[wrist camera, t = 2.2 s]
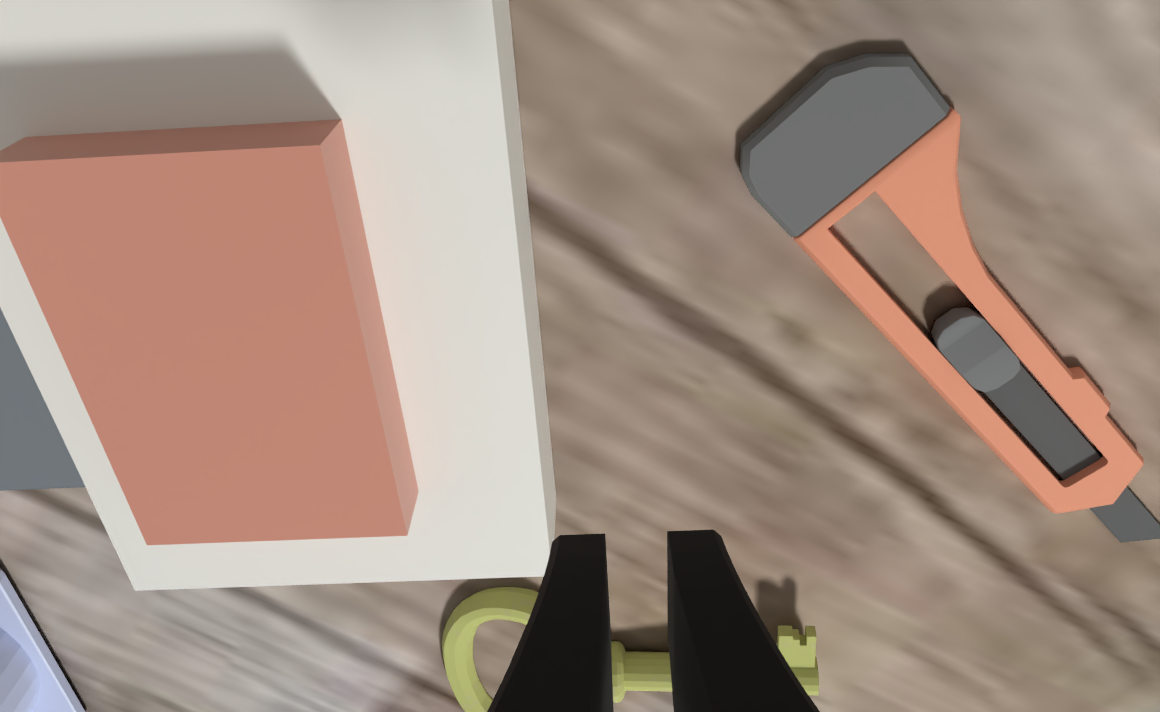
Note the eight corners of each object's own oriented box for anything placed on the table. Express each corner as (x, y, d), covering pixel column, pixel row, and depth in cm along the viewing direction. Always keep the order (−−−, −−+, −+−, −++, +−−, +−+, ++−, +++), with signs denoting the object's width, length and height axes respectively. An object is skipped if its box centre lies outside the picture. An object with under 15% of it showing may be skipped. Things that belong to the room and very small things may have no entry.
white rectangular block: (181, 512, 25) (134, 590, 22) (-48, -52, 17) (-161, -31, 14) (556, 498, 24) (552, 575, 22) (500, -88, 17) (484, -73, 14)
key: (827, 641, 28) (843, 696, 26) (498, 731, 31) (492, 786, 29) (760, 488, 25) (773, 540, 23) (397, 605, 28) (383, 659, 26)
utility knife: (890, 22, 17) (1263, 506, 24) (876, 13, 18) (1240, 483, 24) (724, 169, 19) (1116, 583, 25) (718, 155, 19) (1099, 559, 26)
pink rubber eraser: (174, 501, 21) (147, 545, 19) (25, 137, 16) (-24, 163, 15) (418, 491, 20) (406, 536, 19) (341, 119, 16) (320, 144, 14)
